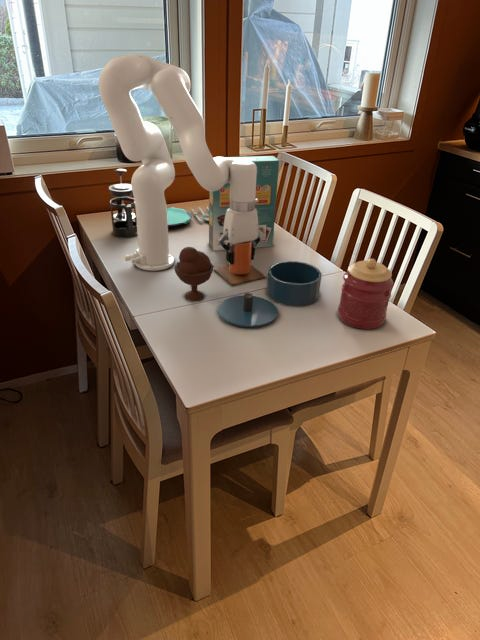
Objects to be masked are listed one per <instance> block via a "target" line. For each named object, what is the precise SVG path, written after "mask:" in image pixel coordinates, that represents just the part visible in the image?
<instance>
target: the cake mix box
mask: <svg viewBox="0 0 480 640" xmlns="http://www.w3.org/2000/svg"><path fill="white" fill-rule="evenodd" d="M225 158H229V159H233V160H237V161H240V160H246V161H251V162H253V163H255V165H256V167H257V176H256V196H255V199H258V201H259V202H258V203H256V204H255V208H256V210H257V215H258V228H259V229H260V230H261V231H262V232H263V233H264V236H263V237H262V238H261V239H260V242H259V243H258V244H257V247H256V248H265V247H267V248H268V247H273V246H274V234H275V233H274V232H275V220H276V210H277V209H276V206H277V196H278V181H279V169H280V160H279V159H278V158H277V157H276V156H274V155H258V156H257V155H256V156H255V155H253V156H230V157H229V156H228V157H227V156H226V157H225ZM208 202H209V203H208V208H209V211H208V216H209V221H208V245H209V247H210V249H211V250H212V251H213V252H215V251H226V250H225V249H224V248H223V247H222V246H221V245H220V244H219V243H218V242H217V240H218V239H219V238H220V237H221V236H222V234H223V229H224V220H225V215H226V211H227V209H229V206H230V184H229V183H226V184H224V186H223V187H222V188H221V189H219V190H217V191H208ZM227 241H228V240H225V241H224V243H225V244H226V243H227Z"/></svg>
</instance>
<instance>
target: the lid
mask: <svg viewBox="0 0 480 640" xmlns="http://www.w3.org/2000/svg"><path fill="white" fill-rule="evenodd" d="M217 315H218V316H219V317H220V319H222V320H223V321H224V322H226V323H228V324H231V325H233V326H237V327H243V328H257V327H258V328H259V327H263V326H265V325H269V324H270V323H272V322H273V321H275V320H276V318H277V316H278V308H277V306H276V305H275V304H274V303H273V302H272V301H270V300H268V299H265V298H264V297H261V296H256V295H254V294H253V293H251V292H245V293H243V295H242V294H241V295H234V296H231V297H228V298H226V299H224V300H222V301H221V302H220V303H219V304H218V305H217Z"/></svg>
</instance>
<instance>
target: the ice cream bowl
mask: <svg viewBox="0 0 480 640" xmlns="http://www.w3.org/2000/svg"><path fill="white" fill-rule="evenodd" d="M178 259H179V261H177V262H176V263H175V265H174V266H173V269H174V273H175V274H176V276H177V278H178V279H179V280H180V281H181V282H182V283H184V284H186V285H189V286H190V290H188V291H186V293H185V294H184V298H185V299H186V300H188V301H190V302H199V301H200V300H203V299H204V297H205V294H204V293H203V292H202V291H200V290H199V289H198V286H200V285H203V284H205V283H206V282H208V280H210V278H211V276H212V274H213V272H214V267H215V266H214V264H213V263H211V259H210V257H209V256H208V255H207V254H206V253H205V252H204V251H201V250H197V249H196V248H195V247H192V246H185V247H183V248H182V249H181V250H180V252H179V256H178Z"/></svg>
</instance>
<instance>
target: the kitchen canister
mask: <svg viewBox="0 0 480 640" xmlns="http://www.w3.org/2000/svg"><path fill="white" fill-rule="evenodd" d="M392 276H393V273H392V271H391V270H390V269H389V268H388V267H387V266H385V265H384V264H383V263H380V262H377V261H376V259H375V258H368V259H367V260H359V261H356V262H355V263H352V264H349V266H348V267H347V270H346V272H345V273H344V274H343V276H342V277H343V278H342V279H343V281H344V282H343V284H342V285H341V294H340V300H339V304H338V307H337V311H338V318H339V319H340V320H341V321H342V322H343V323H344V324H346V325H348V326H350V327H352V328H357V329H361V330H373V329H377V328H380V327H381V326H383V324H384V322H385V321H386V318H387V314H388V313H387V312H388V308H389V307H388V306H389V302H390V298H391V296H392V292H391V289H392V288H393V287H394V280H393V278H392Z"/></svg>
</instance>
